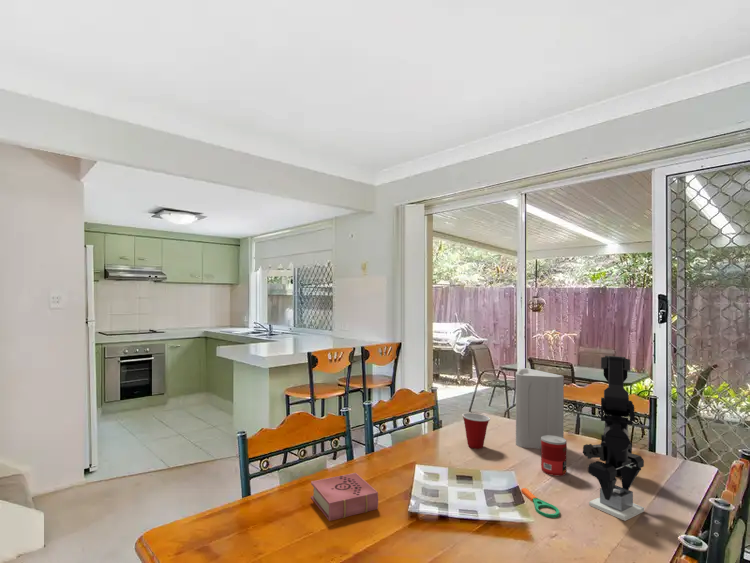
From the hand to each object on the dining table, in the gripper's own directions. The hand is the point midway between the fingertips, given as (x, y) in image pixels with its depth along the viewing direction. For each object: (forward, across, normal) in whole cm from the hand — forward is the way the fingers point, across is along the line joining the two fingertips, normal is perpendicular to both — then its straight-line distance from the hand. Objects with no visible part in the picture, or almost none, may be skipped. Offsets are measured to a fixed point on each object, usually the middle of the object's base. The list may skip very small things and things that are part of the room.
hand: (616, 495), depth 123 cm
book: (+4, +64, -42) cm, 77 cm away
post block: (+4, 0, 0) cm, 4 cm away
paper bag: (+4, -24, -47) cm, 53 cm away
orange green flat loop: (+4, +17, -13) cm, 22 cm away
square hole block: (+2, 0, 0) cm, 2 cm away
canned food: (+4, -7, -25) cm, 26 cm away
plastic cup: (+4, -2, -56) cm, 56 cm away
